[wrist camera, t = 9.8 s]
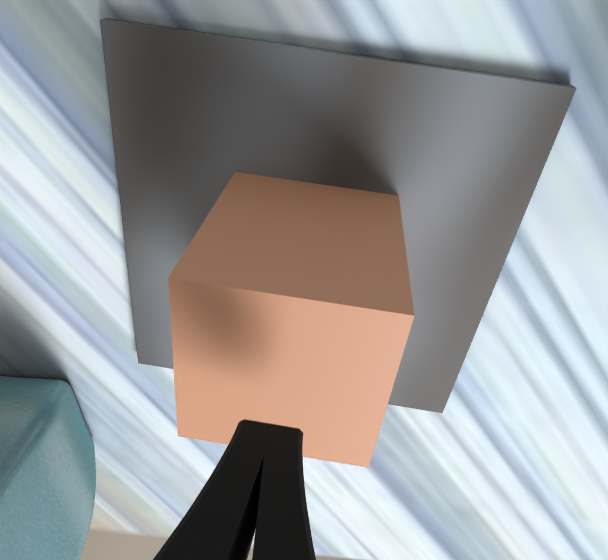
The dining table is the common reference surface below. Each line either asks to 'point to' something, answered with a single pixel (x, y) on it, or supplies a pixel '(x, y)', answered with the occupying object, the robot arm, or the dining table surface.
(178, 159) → the post block
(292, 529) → the robot arm
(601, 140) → the dining table surface
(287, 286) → the block
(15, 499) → the flower pot
